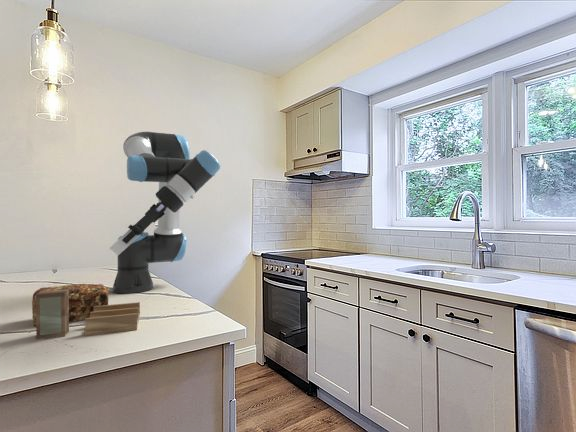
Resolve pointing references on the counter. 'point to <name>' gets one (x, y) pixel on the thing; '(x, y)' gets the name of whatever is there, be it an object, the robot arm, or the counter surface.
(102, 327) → the divided tray
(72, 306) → the bread
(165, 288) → the counter surface
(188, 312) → the counter surface
